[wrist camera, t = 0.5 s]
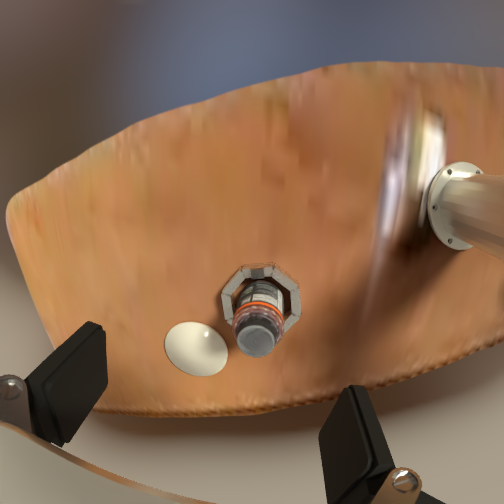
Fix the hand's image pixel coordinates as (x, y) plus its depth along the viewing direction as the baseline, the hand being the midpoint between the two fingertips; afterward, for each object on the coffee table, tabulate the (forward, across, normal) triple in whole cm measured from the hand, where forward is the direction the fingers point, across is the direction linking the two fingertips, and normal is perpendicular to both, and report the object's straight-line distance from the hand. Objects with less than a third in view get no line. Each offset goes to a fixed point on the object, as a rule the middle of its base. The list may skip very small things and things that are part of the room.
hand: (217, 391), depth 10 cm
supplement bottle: (+29, -3, +8) cm, 31 cm away
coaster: (+30, +5, +20) cm, 36 cm away
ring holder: (+29, -3, +8) cm, 30 cm away
